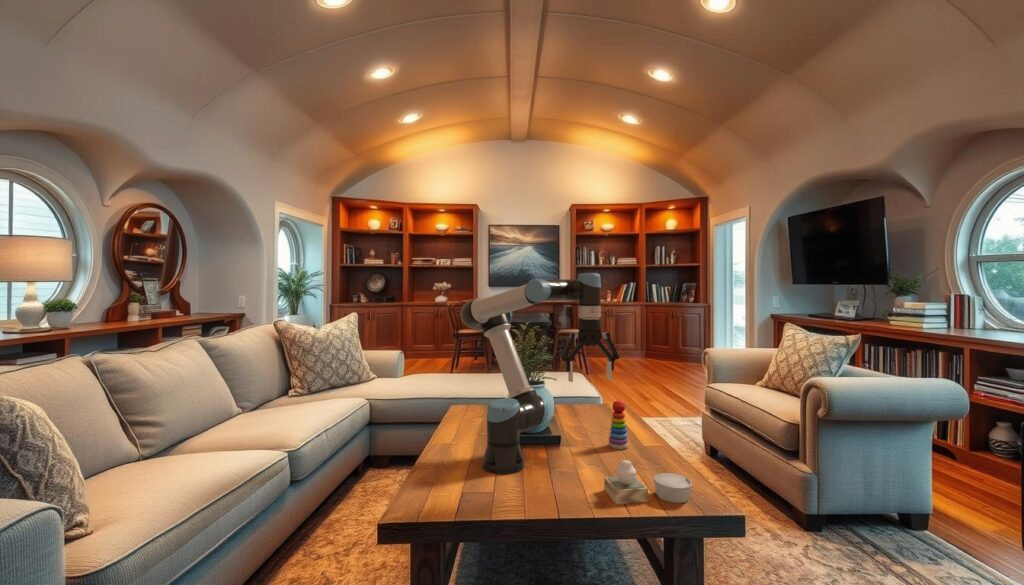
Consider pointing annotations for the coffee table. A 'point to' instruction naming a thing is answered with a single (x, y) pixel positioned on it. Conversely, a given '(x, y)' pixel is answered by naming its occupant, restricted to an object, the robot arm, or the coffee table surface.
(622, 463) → the small white vase
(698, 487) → the coffee table surface
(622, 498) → the base block
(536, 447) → the coffee table surface
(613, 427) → the stacking toy
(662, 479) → the ramekin
